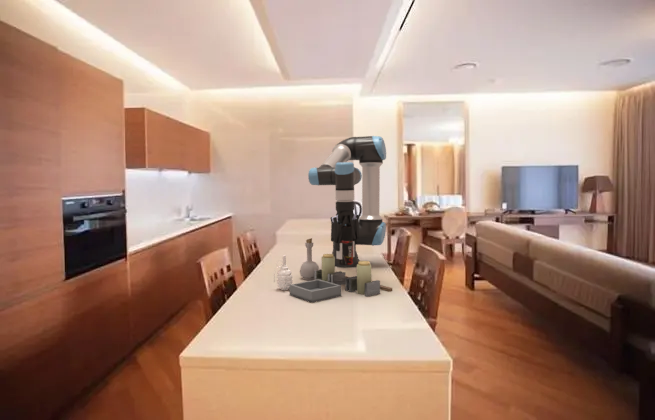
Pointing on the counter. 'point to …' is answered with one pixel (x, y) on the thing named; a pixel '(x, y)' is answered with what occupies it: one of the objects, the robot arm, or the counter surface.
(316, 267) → the potion bottle
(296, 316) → the counter surface
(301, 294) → the tray
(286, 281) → the hand grenade
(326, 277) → the cartridge
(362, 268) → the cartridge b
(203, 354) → the counter surface
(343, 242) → the deodorant
